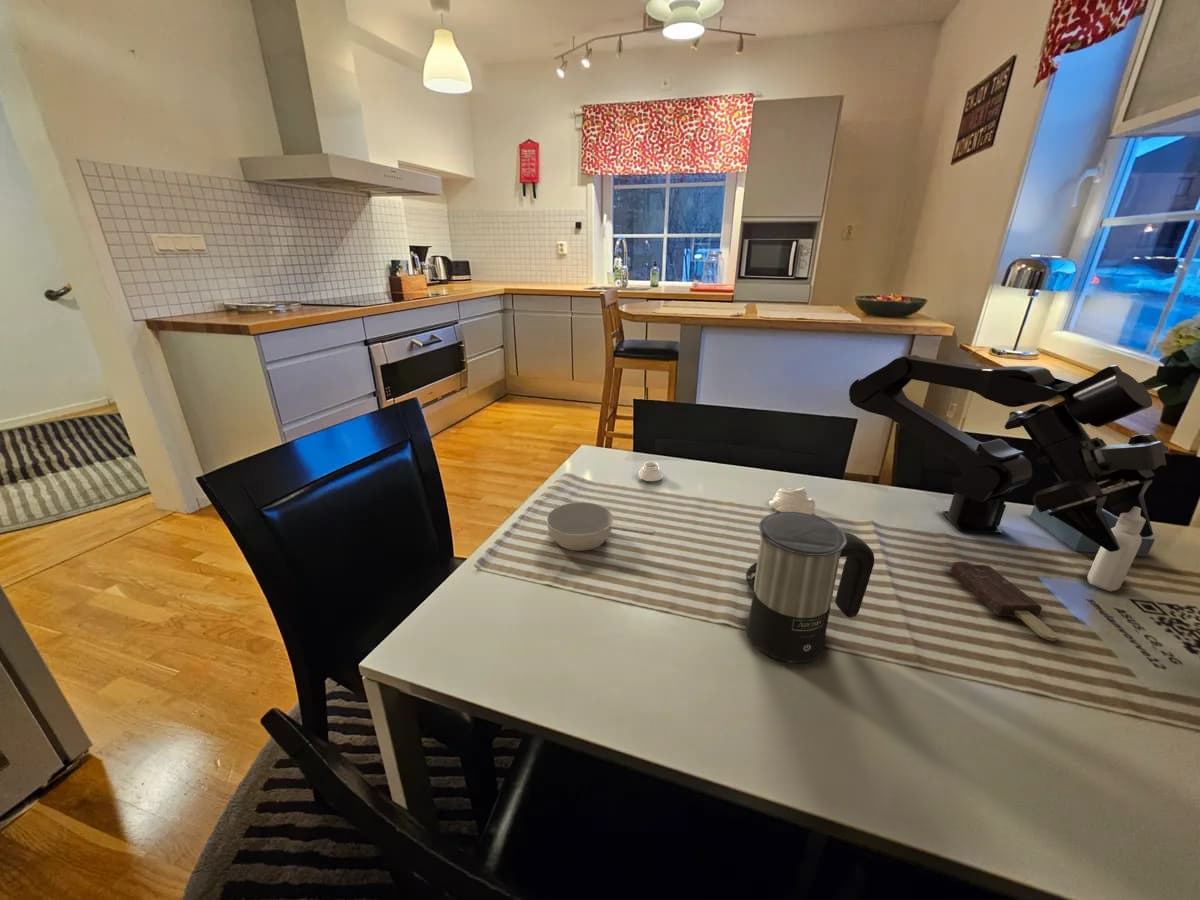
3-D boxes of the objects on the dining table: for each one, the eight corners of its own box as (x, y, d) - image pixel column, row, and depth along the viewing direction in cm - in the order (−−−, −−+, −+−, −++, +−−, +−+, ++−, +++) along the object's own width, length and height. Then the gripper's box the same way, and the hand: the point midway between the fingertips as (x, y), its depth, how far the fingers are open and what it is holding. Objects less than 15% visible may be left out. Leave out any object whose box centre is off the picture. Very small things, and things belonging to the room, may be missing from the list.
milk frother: (784, 676, 54) (806, 562, 49) (695, 595, 67) (704, 497, 62) (868, 634, 60) (896, 529, 55) (772, 567, 73) (786, 476, 68)
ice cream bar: (1072, 644, 59) (980, 570, 73) (1077, 633, 58) (983, 560, 72) (1029, 644, 59) (945, 570, 73) (1034, 633, 58) (948, 561, 72)
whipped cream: (774, 521, 88) (777, 498, 85) (762, 501, 94) (764, 479, 91) (819, 518, 88) (823, 495, 85) (803, 498, 94) (806, 476, 91)
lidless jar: (662, 473, 105) (638, 472, 105) (662, 460, 104) (639, 459, 104) (662, 483, 100) (638, 482, 101) (663, 470, 99) (638, 468, 100)
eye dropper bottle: (1070, 574, 72) (1102, 501, 67) (1102, 571, 73) (1135, 499, 68) (1103, 593, 68) (1139, 517, 63) (1137, 589, 69) (1174, 514, 64)
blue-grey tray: (1075, 550, 78) (1082, 533, 77) (1029, 517, 88) (1035, 501, 87) (1147, 556, 76) (1155, 539, 75) (1092, 521, 87) (1099, 506, 85)
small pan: (565, 515, 87) (564, 496, 86) (662, 536, 81) (664, 515, 80) (535, 545, 78) (534, 524, 77) (643, 571, 72) (644, 549, 70)
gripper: (1092, 424, 62) (1178, 542, 56) (1162, 407, 69) (1244, 511, 63) (1003, 460, 71) (1070, 564, 66) (1073, 442, 78) (1137, 535, 73)
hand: (1132, 543), depth 67 cm, fingers open, 9 cm apart
